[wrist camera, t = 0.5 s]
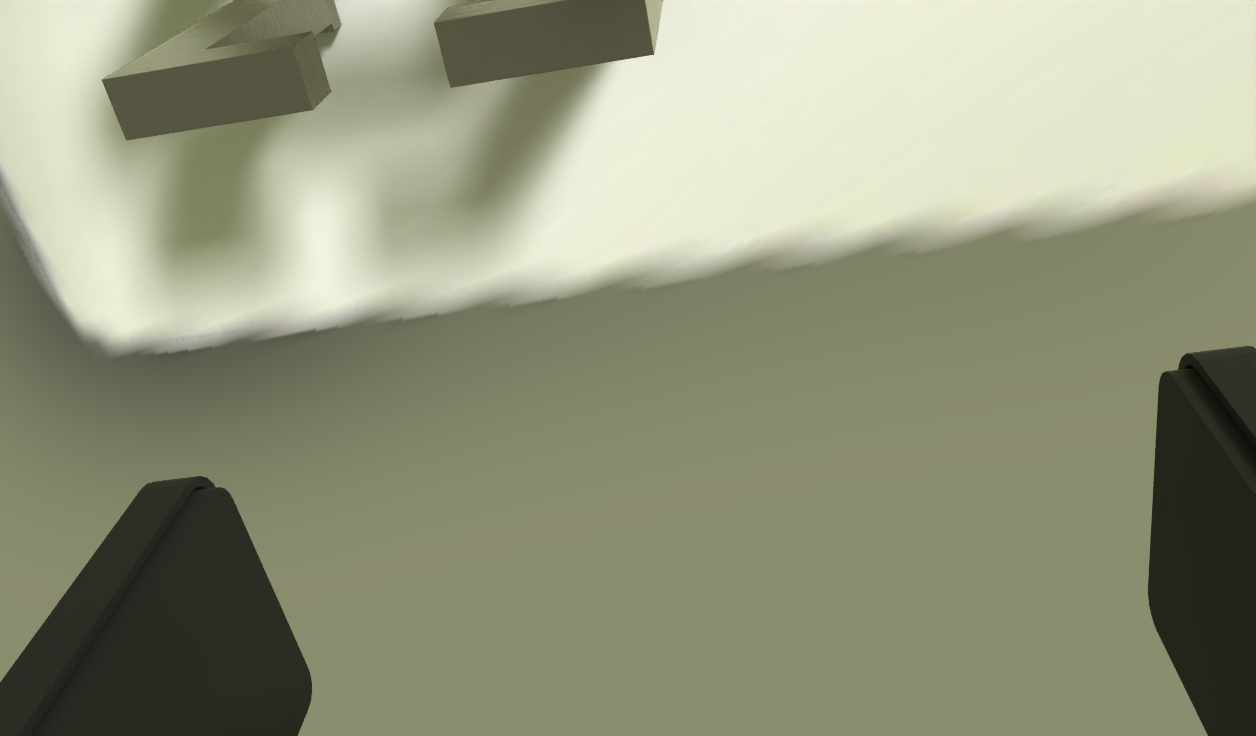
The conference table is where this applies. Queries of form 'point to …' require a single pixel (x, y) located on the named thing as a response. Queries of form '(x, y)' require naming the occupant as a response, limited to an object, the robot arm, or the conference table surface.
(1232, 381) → the robot arm
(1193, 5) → the conference table surface
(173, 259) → the conference table surface
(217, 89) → the gray arch posts
